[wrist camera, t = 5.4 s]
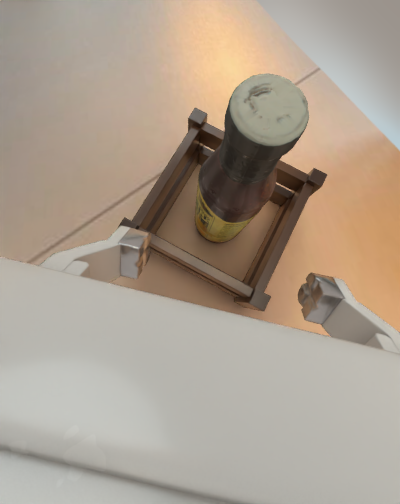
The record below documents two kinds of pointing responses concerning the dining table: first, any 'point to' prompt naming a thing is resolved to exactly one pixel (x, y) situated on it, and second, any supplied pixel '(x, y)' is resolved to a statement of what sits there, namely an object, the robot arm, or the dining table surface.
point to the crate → (275, 240)
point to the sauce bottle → (248, 154)
